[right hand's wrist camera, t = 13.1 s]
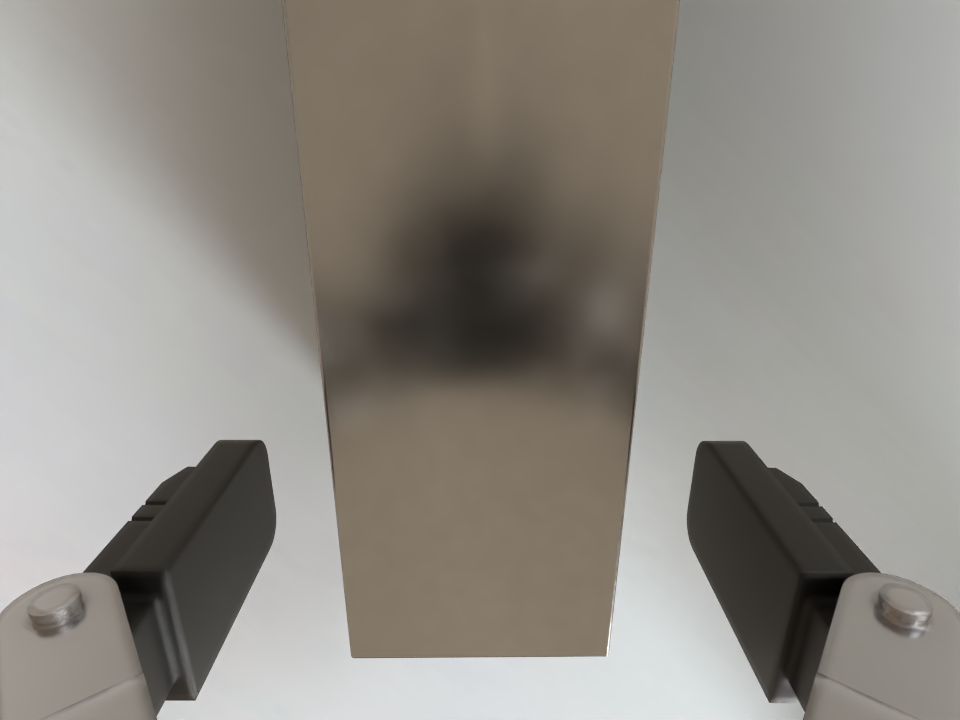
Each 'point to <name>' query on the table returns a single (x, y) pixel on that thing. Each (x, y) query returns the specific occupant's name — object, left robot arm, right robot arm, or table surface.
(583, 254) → the bar
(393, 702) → the table surface
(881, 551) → the table surface
